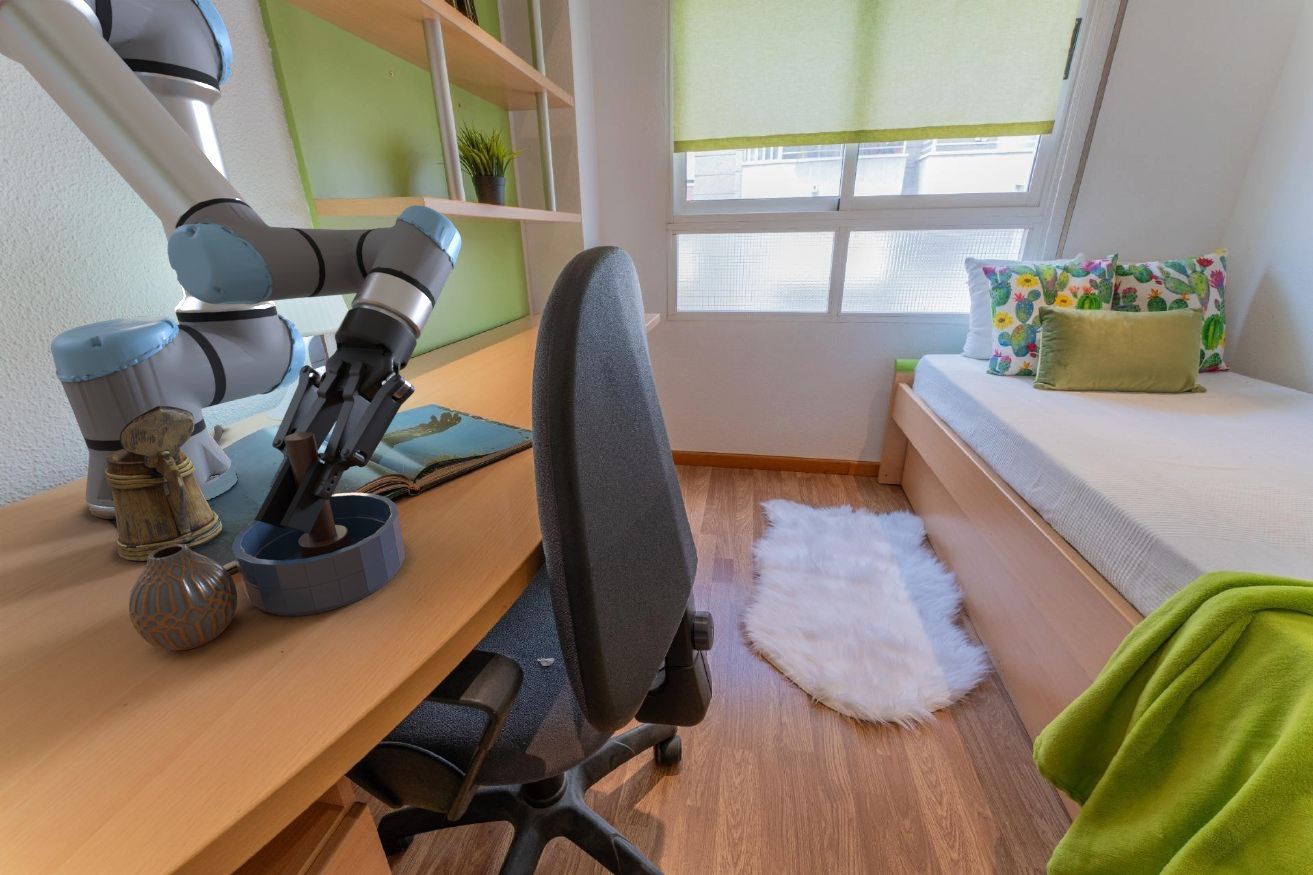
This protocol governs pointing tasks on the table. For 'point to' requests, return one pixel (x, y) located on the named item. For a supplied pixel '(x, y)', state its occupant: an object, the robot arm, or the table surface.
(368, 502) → the bowl
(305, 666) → the table surface
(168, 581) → the vase
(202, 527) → the wooden mug
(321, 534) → the pestle
